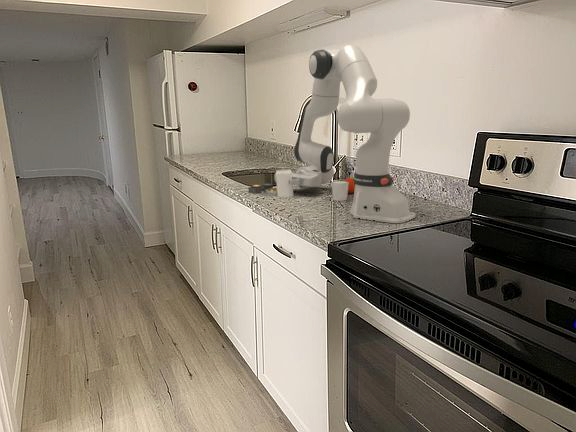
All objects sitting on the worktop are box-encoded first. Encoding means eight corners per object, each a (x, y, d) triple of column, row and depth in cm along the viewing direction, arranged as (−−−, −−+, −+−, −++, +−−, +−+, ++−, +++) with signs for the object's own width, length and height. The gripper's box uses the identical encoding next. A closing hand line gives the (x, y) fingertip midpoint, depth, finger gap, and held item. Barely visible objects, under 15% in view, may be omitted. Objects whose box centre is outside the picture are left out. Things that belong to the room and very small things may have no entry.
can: (291, 199, 181) (289, 169, 179) (276, 199, 182) (273, 170, 180) (294, 196, 187) (293, 167, 185) (279, 197, 189) (277, 168, 186)
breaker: (262, 190, 193) (262, 185, 192) (256, 191, 191) (256, 186, 190) (256, 189, 195) (256, 184, 195) (250, 190, 193) (250, 185, 192)
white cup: (349, 198, 185) (349, 181, 183) (346, 201, 179) (347, 184, 177) (332, 197, 187) (333, 180, 185) (329, 200, 181) (329, 183, 179)
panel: (290, 194, 192) (290, 186, 191) (271, 199, 184) (270, 191, 183) (267, 190, 201) (267, 183, 201) (247, 195, 193) (247, 187, 192)
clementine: (363, 194, 191) (364, 177, 190) (348, 195, 189) (349, 178, 188) (355, 191, 199) (355, 175, 197) (340, 192, 197) (341, 175, 195)
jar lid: (290, 192, 192) (290, 189, 192) (276, 195, 186) (276, 192, 185) (275, 189, 198) (275, 186, 197) (261, 192, 191) (261, 189, 191)
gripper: (287, 167, 198) (264, 171, 188) (324, 172, 185) (302, 176, 175) (287, 182, 200) (265, 186, 190) (324, 187, 187) (302, 192, 177)
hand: (283, 181), depth 182 cm, fingers open, 5 cm apart
